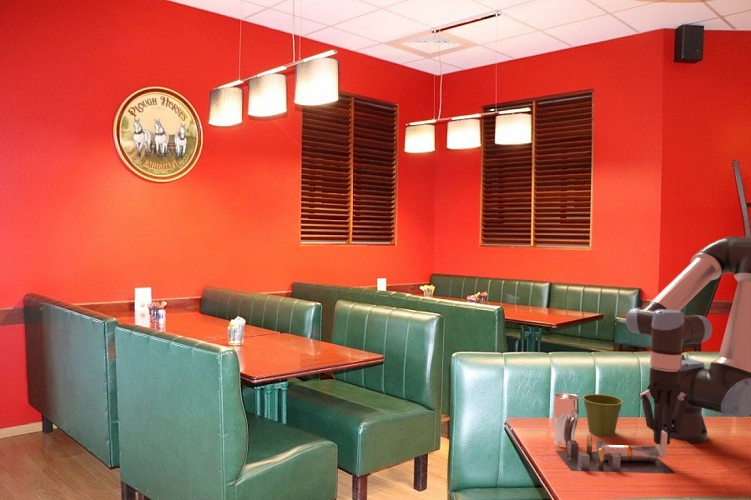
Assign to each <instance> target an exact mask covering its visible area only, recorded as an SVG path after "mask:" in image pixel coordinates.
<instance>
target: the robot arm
mask: <svg viewBox="0 0 751 500" xmlns="http://www.w3.org/2000/svg"><path fill="white" fill-rule="evenodd" d="M725 274H732V275H733V278H734V279H735V280H736V281H737V286H736V289H735V293H734V296H733V300H732V304H731V308H730V312H729V316H728V320H727V322H726V323H727V324H726V327H725V332H724V333H723V334H724V335H723V339H722V343H721V346H720V350H719V353H718V357H717V358H716V359H714V360H713V361H710V365H709V367H708V368H705V367H706V366H705V363H704V362H703V361H700V360H694V359H693V360H692V359H689V360H688V359H682V358H683V346H684V345H690V344H696V345H697V344H700V343H704V342H706V341H707V340H709V339H710V338H711V337H712V335H713V334H712V333H713V327H712V322H711V321H709V319H708V318H707V317H706V316H703V315H696V314H692V315H687V314H684V312H682V309H683V308H684V307H686V305H688V304H689V302H690V301H691V300H692V299H694V297H695V296H696V295H698V294H699V292H701V290H703V289H704V287H706V286H707V284H709V283H710V282H711V281H714V280H718V279H719V278H720V277H721V276H722V275H725ZM625 323H626V326H627V327H626V328H627V329H628V330H629V331H630V332H631V333H634V334H638V335H641V336H646V337H647V336H648V337H651V341H650V342H651V347H650V361H649V365H650V366H651V367H650V368H649V384H648V386H647V390H645V391H640V392H638V397H639V398H640V400H641V402H642V407H643V411H644V418H645V422H646V423H645V424H646V427H647V428H649V429H650V430H651V431H652V432H653V443H654V444H656V446H655V447H656V448H657V450H658V458H661V459H662V458H664V459H665V458H666V459H667V453H668V452H667V450H668V445H670V444H671V439H676V440H681V441H686V442H687V443H689V444H700V443H705V442H706V441H708V430H707V426H706V423H705V419H704V417H703V416H704V415H703V409H705V410H708V411H712V412H715V413H719V414H723V415H725V416H727V417H735V418H746V417H747V416H749V415H750V414H751V236H739V235H738V236H737V235H735V236H726V237H723V238H719V239H717V240H714V241H713V242H710V243H709V244H707V245H706V246H704V247H703V248H701V249H700V250H698V251H697V252H696V253H695V254H694V255H692V257H691V259H690V264H688V266H687V267H685V268H684V269H683V270H682V271H681V272H680V273H679V274H678V275H677V276H676V277H675V278H674V279H673V280H672V281H671V282H670V283H669V284H667V286H665V287H664V288H663V289H662V290H661V291H660V292H659V293H658V294H657V295H656V296H655V297H654V298H653V299H651V301H649V303H648V304H646V305H645V307H643V308H641V307H633V308H631V309H630V310H628V312H627V314H626V317H625ZM651 398H652V399H653V406H654V409H652V403H651ZM653 410H654V411H653Z"/></svg>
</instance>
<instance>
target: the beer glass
mask: <svg viewBox="0 0 751 500" xmlns="http://www.w3.org/2000/svg"><path fill="white" fill-rule="evenodd" d="M553 399H554V400H553V410H552V412H553V413H552V414H553V422H554V431H555V434H554V435H555V437H554V441H553V444H554V445H555V446H557V447H561V448H565V449H568V440H575V437H576V436H575V435H576V428H577V425H578V422H579V420H578V419H579V411H580V410H579V408H580V405H579V404H580V403H579V402H580V401H579V396H578V395H576V394H573V393H569V392H568V393H567V392H557V393H555V394H554V398H553ZM575 441H576V440H575Z"/></svg>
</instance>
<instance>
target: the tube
mask: <svg viewBox="0 0 751 500" xmlns="http://www.w3.org/2000/svg"><path fill="white" fill-rule="evenodd" d="M601 448H603V449H604V460H606V461H608V460H609V453H617V454H618V455H619V456H620V457H621V461H643V462H657V461H658V459H659V456H658V450H657V448H656V446H655V445H627V444H624V445H623V444H622V445H621V444H608V445H601Z"/></svg>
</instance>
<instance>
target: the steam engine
mask: <svg viewBox="0 0 751 500" xmlns="http://www.w3.org/2000/svg"><path fill="white" fill-rule="evenodd" d="M601 445H609V444H608V443H607V442H606V441H604V440H597V441H596V451H593V436H589V435H588V436H586V451H583V450H582V451H581V450H580V451H579V443H578V441H576V440H568V448H567V450H555V453H557V455H558V456H559V458H560V459H561V460H562V461H563V463H564V464H565V465H566V466H567V467H568V469H569V470H570V471H571V472H592V473H593V472H596V473H597V472H600V473H603V472H604V473H633V474H634V473H635V474H637V473H638V474H642V473H643V474H672V475H675V474H676V475H677V473H676V472H675V471H674V470H673V469H672V468H670V466H669V465H667V464H666V463H664V461H662V460H661V459H659V458H658V461H657V462H643V461H621V457H620V456H619V455H618V454H617V453H609V460H608V461H606V460H604V449H603V448H601Z"/></svg>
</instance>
